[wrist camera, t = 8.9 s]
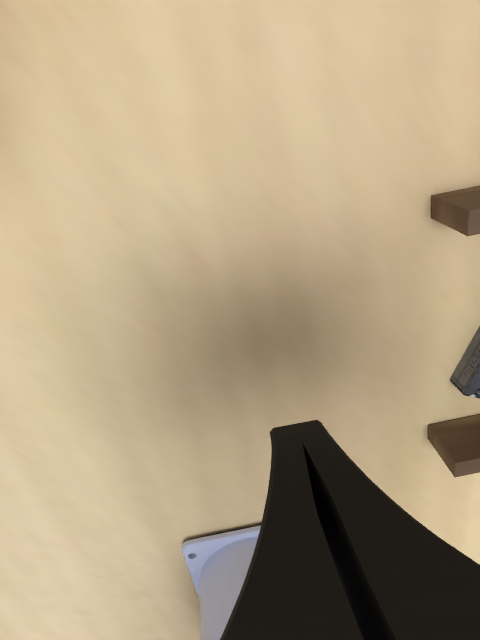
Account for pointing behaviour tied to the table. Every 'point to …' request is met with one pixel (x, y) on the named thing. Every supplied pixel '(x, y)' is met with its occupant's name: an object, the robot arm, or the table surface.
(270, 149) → the table surface
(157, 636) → the table surface
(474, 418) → the brown u-shaped frame
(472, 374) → the mini dv tape
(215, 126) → the table surface
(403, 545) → the robot arm
